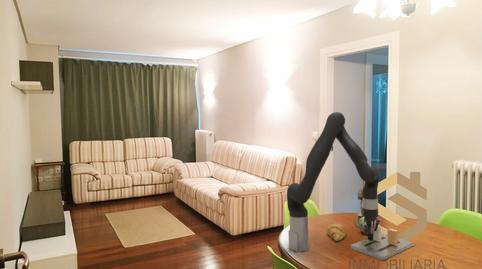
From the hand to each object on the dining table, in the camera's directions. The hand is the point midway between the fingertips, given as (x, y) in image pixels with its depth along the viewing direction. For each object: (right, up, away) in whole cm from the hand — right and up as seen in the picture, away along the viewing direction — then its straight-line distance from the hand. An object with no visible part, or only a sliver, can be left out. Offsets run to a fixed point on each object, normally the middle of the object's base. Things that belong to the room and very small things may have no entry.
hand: (370, 240), depth 172 cm
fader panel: (+5, -3, -1) cm, 6 cm away
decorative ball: (+6, -2, +19) cm, 20 cm away
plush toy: (+9, -1, +31) cm, 32 cm away
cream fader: (+4, -1, +3) cm, 5 cm away
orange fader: (+10, -1, -2) cm, 10 cm away
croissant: (-13, -3, +18) cm, 22 cm away
